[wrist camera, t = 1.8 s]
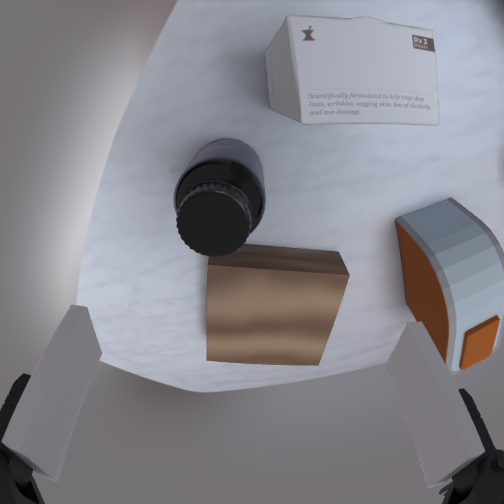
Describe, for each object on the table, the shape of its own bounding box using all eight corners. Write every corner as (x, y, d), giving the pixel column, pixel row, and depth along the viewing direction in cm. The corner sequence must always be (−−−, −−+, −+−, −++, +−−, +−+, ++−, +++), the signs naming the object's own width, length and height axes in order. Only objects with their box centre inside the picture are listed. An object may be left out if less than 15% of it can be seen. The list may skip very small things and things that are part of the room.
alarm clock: (456, 288, 38) (502, 355, 26) (406, 310, 39) (445, 385, 28) (453, 196, 31) (526, 255, 19) (394, 218, 32) (455, 291, 21)
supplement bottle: (226, 122, 27) (212, 147, 17) (276, 171, 30) (293, 224, 19) (177, 173, 30) (140, 225, 19) (227, 217, 32) (218, 287, 22)
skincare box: (269, 110, 27) (290, 133, 14) (263, 48, 24) (278, 12, 11) (357, 106, 26) (442, 133, 14) (352, 47, 23) (438, 27, 10)
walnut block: (212, 239, 34) (207, 264, 30) (337, 250, 35) (349, 275, 30) (210, 332, 41) (206, 360, 37) (312, 338, 42) (318, 365, 37)
